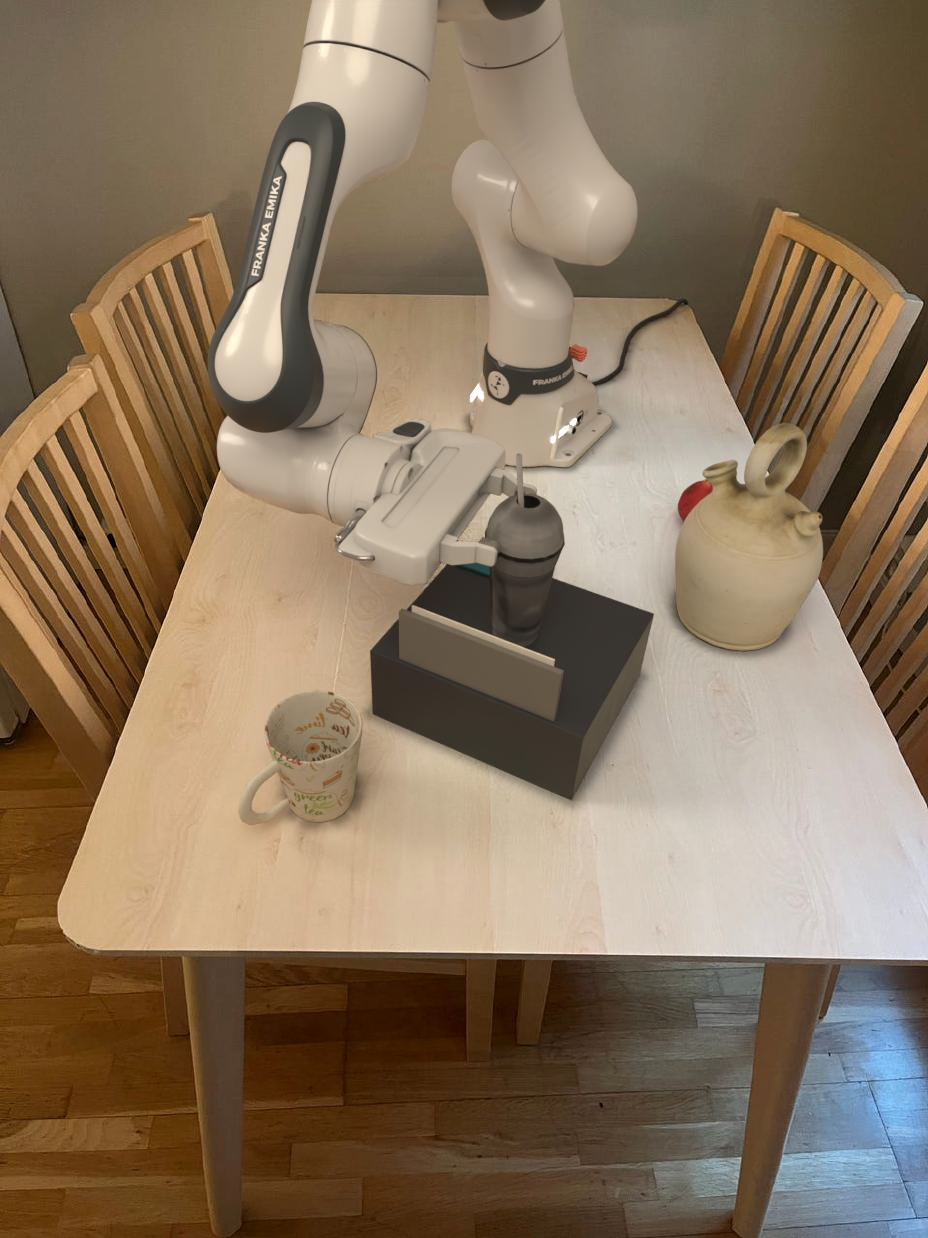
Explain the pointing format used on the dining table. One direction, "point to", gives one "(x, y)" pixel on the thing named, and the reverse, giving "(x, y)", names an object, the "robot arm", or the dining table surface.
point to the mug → (309, 757)
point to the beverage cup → (523, 562)
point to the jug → (749, 549)
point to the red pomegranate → (693, 497)
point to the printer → (510, 676)
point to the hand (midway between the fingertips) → (516, 525)
